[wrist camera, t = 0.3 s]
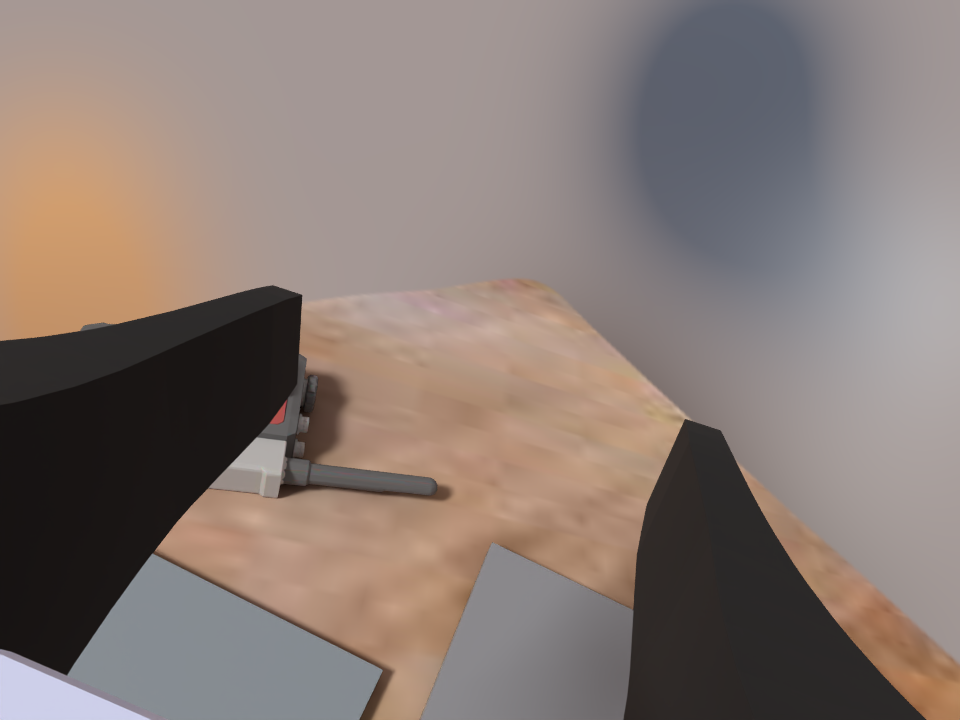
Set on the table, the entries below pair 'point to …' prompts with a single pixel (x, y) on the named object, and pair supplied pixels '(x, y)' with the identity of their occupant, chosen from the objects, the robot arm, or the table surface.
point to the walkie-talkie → (300, 455)
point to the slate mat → (217, 656)
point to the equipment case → (533, 649)
